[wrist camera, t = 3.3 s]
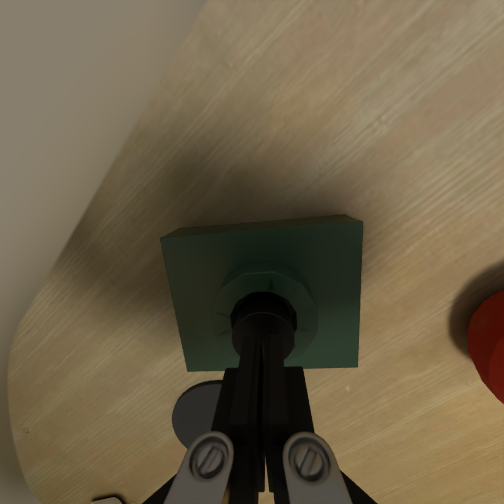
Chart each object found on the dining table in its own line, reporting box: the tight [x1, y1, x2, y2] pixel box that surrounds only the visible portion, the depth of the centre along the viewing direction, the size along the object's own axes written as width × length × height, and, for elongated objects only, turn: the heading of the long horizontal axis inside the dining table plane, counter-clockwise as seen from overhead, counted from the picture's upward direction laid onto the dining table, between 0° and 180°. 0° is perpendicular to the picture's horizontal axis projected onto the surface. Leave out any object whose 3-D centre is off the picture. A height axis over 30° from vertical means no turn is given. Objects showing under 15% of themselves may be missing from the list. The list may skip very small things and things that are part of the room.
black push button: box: [232, 294, 295, 361], centre depth 13 cm, size 3×3×2 cm
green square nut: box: [160, 215, 363, 372], centre depth 16 cm, size 12×10×5 cm
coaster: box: [172, 381, 222, 449], centre depth 22 cm, size 10×10×1 cm
